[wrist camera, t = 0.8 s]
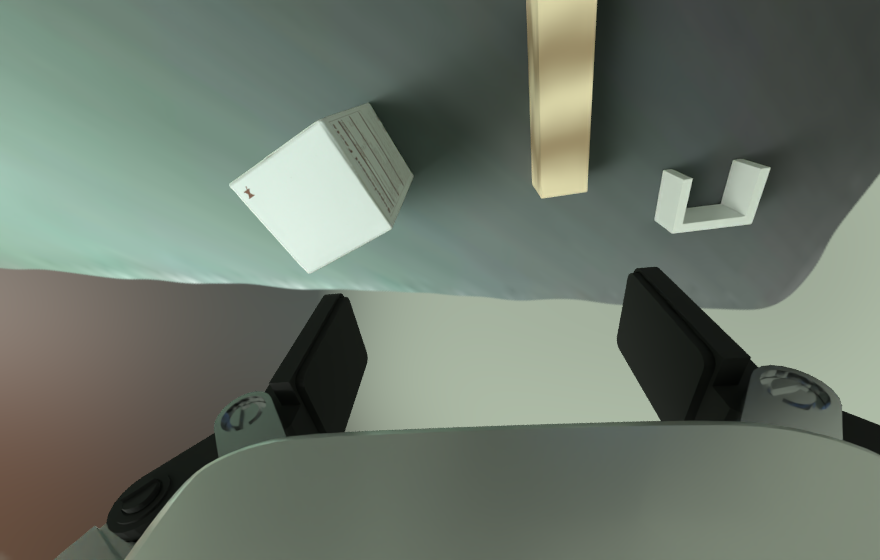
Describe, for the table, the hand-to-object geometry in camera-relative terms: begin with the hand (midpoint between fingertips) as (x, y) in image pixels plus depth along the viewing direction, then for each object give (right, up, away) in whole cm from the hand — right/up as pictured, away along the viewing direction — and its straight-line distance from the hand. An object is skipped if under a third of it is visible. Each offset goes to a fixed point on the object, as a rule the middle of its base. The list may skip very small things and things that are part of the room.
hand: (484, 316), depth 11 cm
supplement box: (-9, +12, +20) cm, 25 cm away
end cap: (+22, +10, +19) cm, 31 cm away
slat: (+7, +19, +15) cm, 25 cm away
